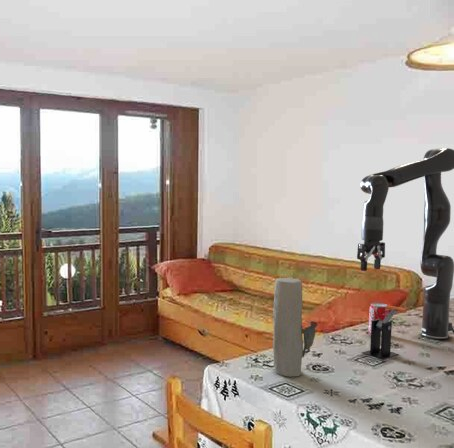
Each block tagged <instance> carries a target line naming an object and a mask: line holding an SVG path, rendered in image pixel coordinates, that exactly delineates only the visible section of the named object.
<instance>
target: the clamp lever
mask: <svg viewBox="0 0 454 448" xmlns="http://www.w3.org/2000/svg"><path fill="white" fill-rule="evenodd" d="M386 309H389V314H388V316H387V317H386V318H385V319H384V320H383V321H379V322H378V323H377V324H376V328H377V330H378V331H382V323H384V322H388V321H390V320H391V319H392V318H393V317H394V315H395V314H396V313H397V312H399V313H405V314H406V313H407V308H403V307H399V306H394V305H389V304H387V306H386ZM390 310H391V311H390Z"/></svg>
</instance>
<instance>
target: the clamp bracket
mask: <svg viewBox="0 0 454 448" xmlns="http://www.w3.org/2000/svg"><path fill="white" fill-rule="evenodd" d="M379 321H381V319H375V320H372V322H371V334H370V343H369V344H370V345H369V346H370V347H369V350H366V351H362V352H361V354H363V355H365V356H370V357H373V358H376V359H379V360H381V361H383V360H386V359H390V358H393V357H397V356H399V355H400V354H399V353H396V352H393V351H392V350H391V347H392V328H393V327H392V326H393V322H392V321H390V320H389V321H388V322H384V323H382V335H381V331H378V330H377V328H376V324H377V323H378V322H379Z"/></svg>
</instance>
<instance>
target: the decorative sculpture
mask: <svg viewBox="0 0 454 448" xmlns="http://www.w3.org/2000/svg"><path fill="white" fill-rule="evenodd" d="M274 281H275V282H274V295H273V305H272V307H273V308H272V309H273V310H272V318H273V320H272V321H273V324H272V325H273V331H272V332H273V339H272V353H273V355H272V357H273V358H272V359H273V367H274V371H275V372H276V374H278V375H281V376H284V377H291V378H292V377H299V376H301V373H302V361H303V359H304V357H305V354H306V352H310V350H311V347H312V346H313V344H314V341H315V337H316V332H317V331H316V328H317V327H318V322H317V321H313V320H311V321H309V320H305V322H306V323H308V324H309V326H307V327H305V328H303V305H304V303H303V282H302V280H301V279H299V278H293V277H279V278H276V279H275V280H274Z"/></svg>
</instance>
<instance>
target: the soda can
mask: <svg viewBox="0 0 454 448" xmlns="http://www.w3.org/2000/svg"><path fill="white" fill-rule="evenodd" d="M387 305H388V304H386V303H382V302H372V303H370V306H369V311H368V330H367V332H368V334H369V335H371V322H372V320H375V319H381V321H383V320H384V319H385V318H386V317H387V316H388V314H389V313H390V309H386V306H387ZM381 335H382V331H381Z"/></svg>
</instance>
